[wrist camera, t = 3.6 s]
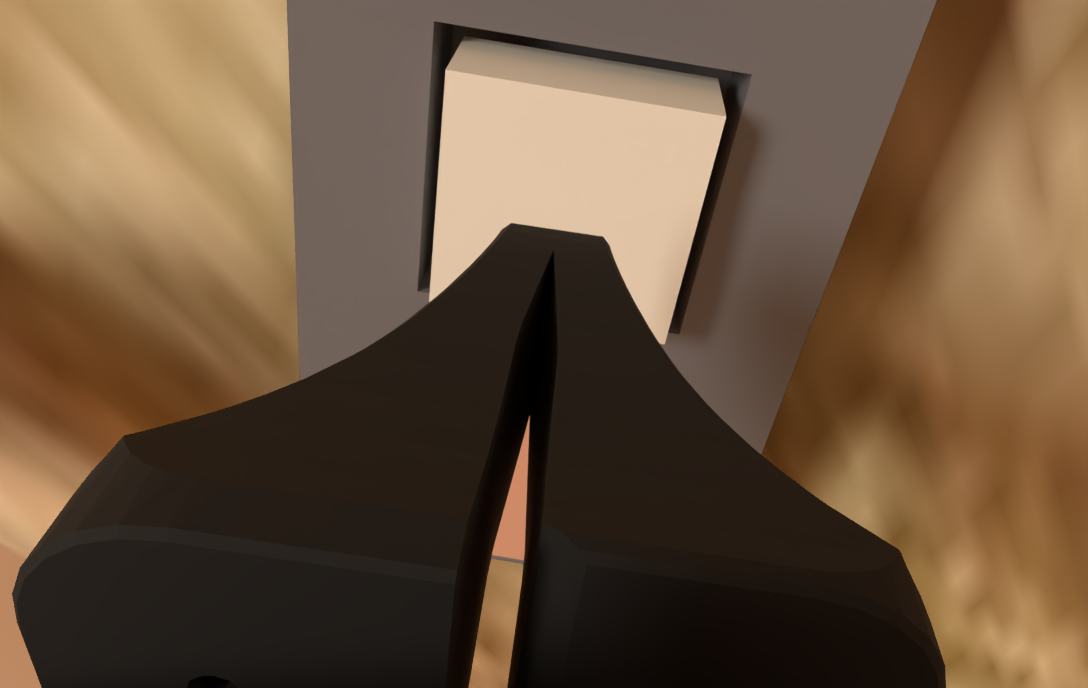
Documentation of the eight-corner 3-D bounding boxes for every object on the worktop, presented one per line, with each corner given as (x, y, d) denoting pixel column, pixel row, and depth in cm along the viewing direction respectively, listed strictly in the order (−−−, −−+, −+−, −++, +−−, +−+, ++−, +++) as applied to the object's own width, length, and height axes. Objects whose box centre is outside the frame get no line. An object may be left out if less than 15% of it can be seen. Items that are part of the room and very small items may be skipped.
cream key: (446, 257, 17) (429, 305, 16) (464, 35, 15) (445, 69, 13) (662, 292, 18) (665, 344, 16) (717, 78, 15) (726, 116, 13)
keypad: (339, 445, 24) (305, 527, 21) (338, -607, 12) (263, -689, 10) (700, 505, 24) (707, 593, 21) (1044, -486, 12) (1145, -539, 10)
